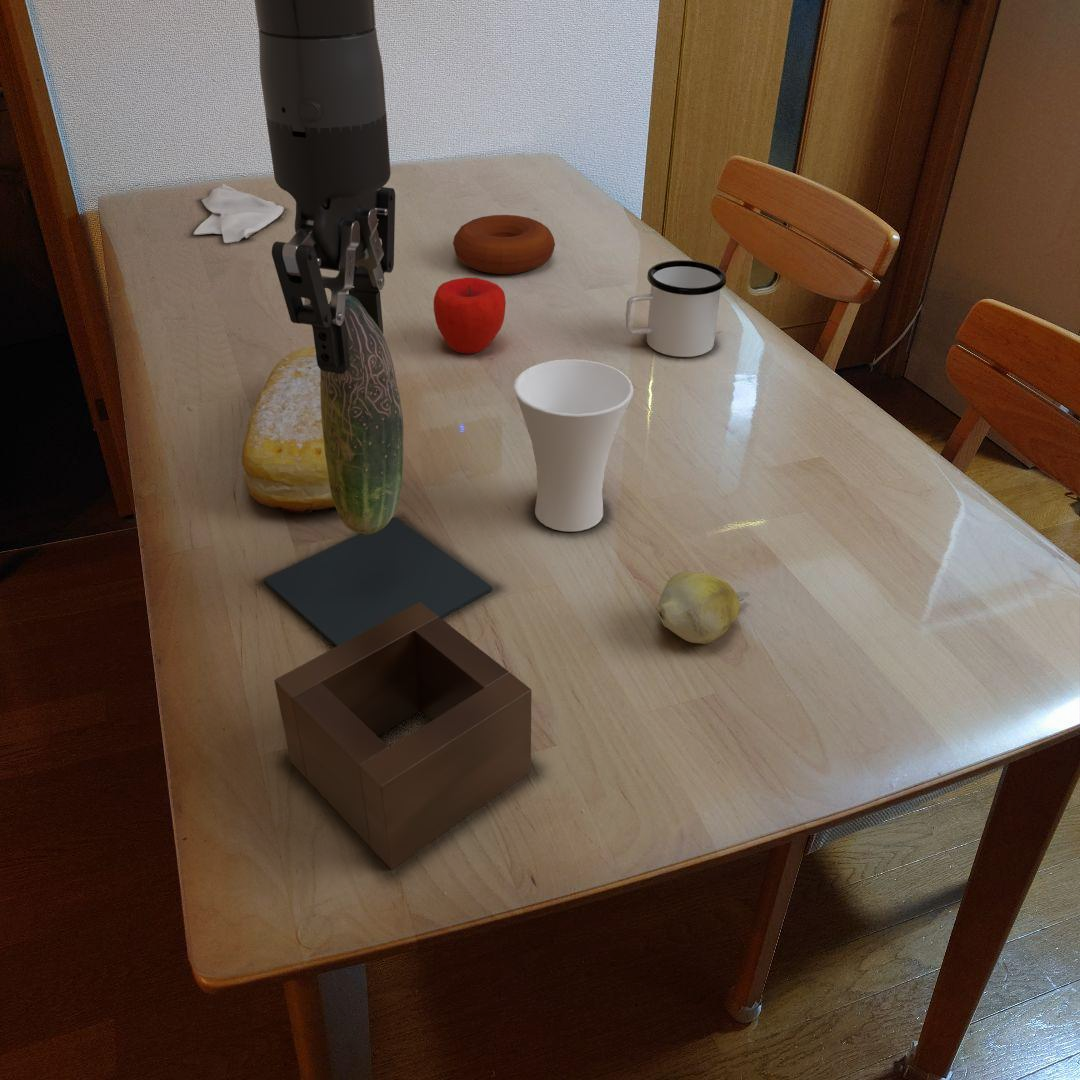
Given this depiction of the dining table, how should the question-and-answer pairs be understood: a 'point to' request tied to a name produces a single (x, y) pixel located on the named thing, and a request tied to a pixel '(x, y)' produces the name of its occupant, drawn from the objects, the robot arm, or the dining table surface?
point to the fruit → (698, 606)
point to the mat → (374, 582)
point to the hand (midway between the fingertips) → (351, 352)
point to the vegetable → (363, 427)
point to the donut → (504, 244)
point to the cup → (571, 435)
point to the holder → (423, 756)
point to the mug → (681, 307)
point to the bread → (288, 439)
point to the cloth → (236, 214)
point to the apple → (469, 313)
